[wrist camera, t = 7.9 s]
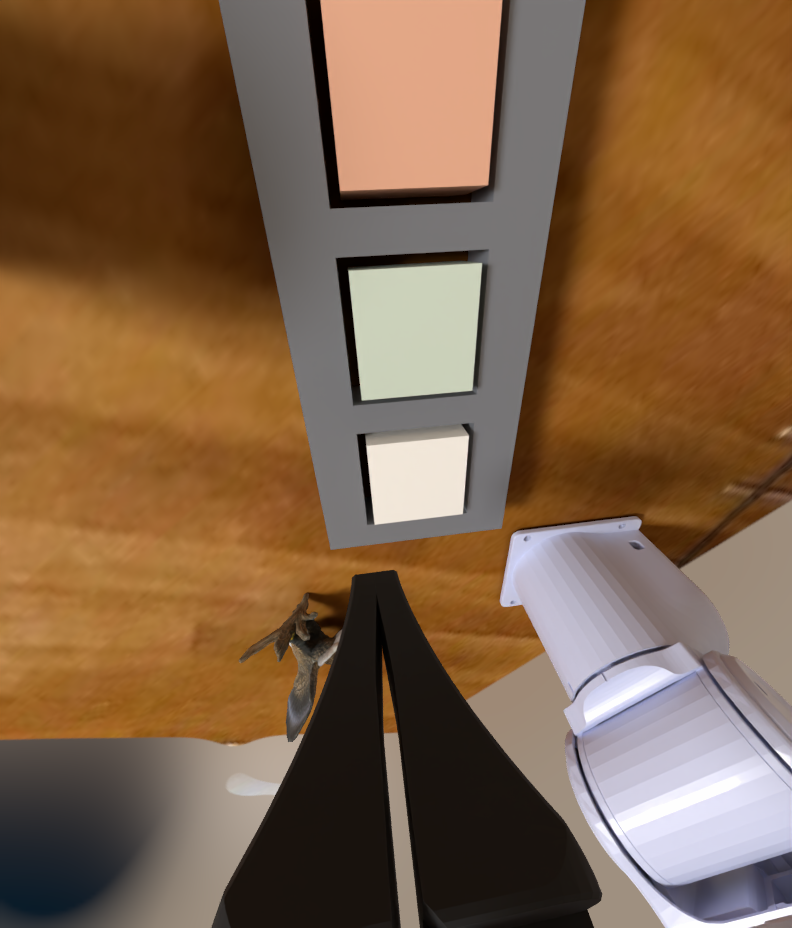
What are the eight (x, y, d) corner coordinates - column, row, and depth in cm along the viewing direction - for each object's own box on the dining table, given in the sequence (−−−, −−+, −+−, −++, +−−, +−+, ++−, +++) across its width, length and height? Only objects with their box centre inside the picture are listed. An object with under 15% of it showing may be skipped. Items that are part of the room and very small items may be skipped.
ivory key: (453, 412, 18) (468, 435, 16) (450, 486, 21) (462, 513, 19) (363, 421, 18) (366, 446, 16) (371, 495, 21) (374, 524, 18)
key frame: (558, -87, 10) (612, -171, 8) (486, 501, 23) (501, 528, 20) (215, -97, 10) (179, -193, 8) (332, 520, 22) (330, 549, 20)
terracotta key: (474, 2, 11) (506, -58, 9) (464, 194, 13) (488, 185, 11) (320, 2, 11) (313, -63, 8) (340, 200, 13) (340, 190, 11)
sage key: (461, 260, 15) (481, 262, 12) (455, 372, 17) (472, 390, 15) (347, 267, 14) (348, 271, 12) (359, 380, 17) (361, 400, 15)
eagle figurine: (222, 623, 24) (269, 706, 27) (252, 695, 18) (306, 788, 22) (319, 563, 28) (350, 642, 31) (368, 608, 22) (398, 698, 26)
